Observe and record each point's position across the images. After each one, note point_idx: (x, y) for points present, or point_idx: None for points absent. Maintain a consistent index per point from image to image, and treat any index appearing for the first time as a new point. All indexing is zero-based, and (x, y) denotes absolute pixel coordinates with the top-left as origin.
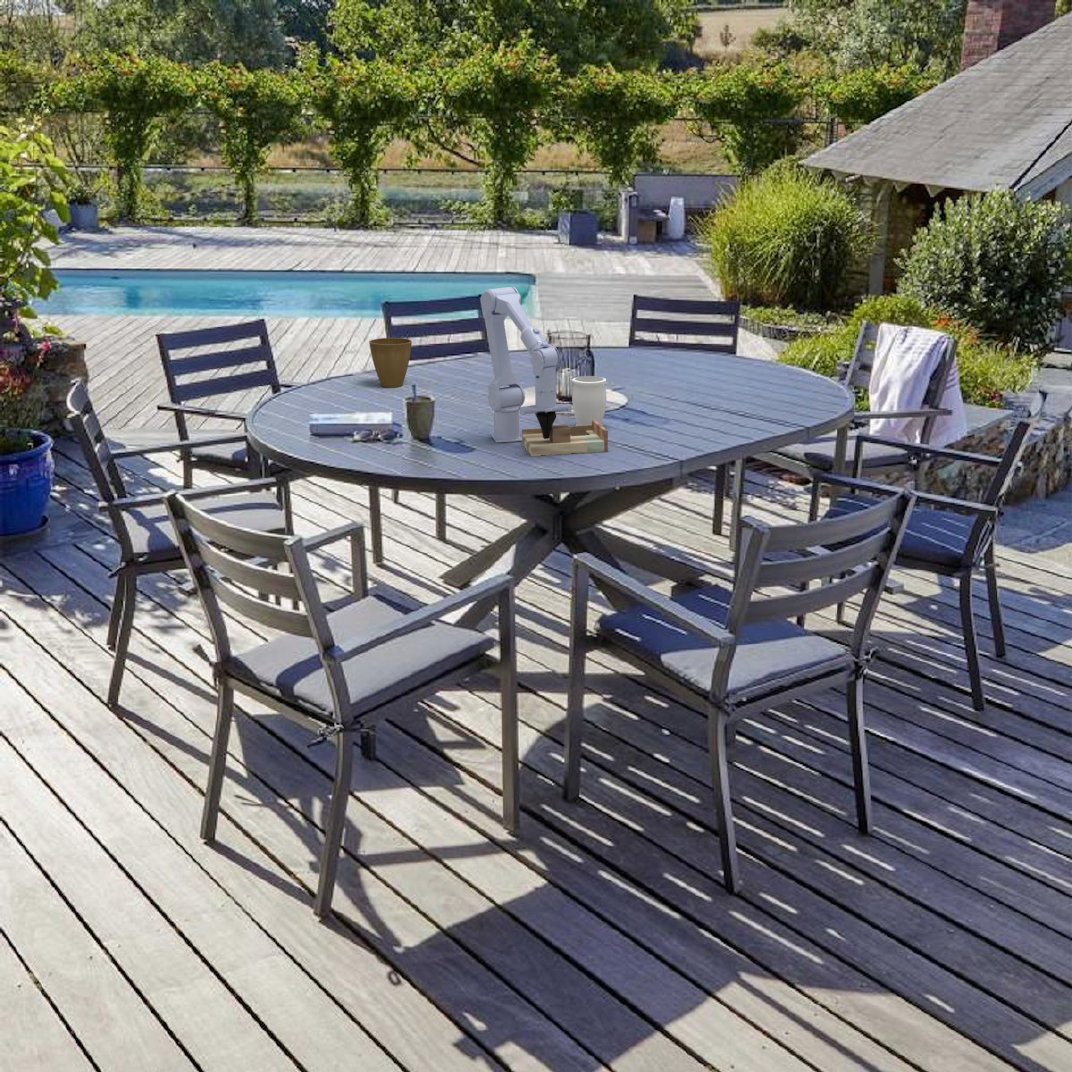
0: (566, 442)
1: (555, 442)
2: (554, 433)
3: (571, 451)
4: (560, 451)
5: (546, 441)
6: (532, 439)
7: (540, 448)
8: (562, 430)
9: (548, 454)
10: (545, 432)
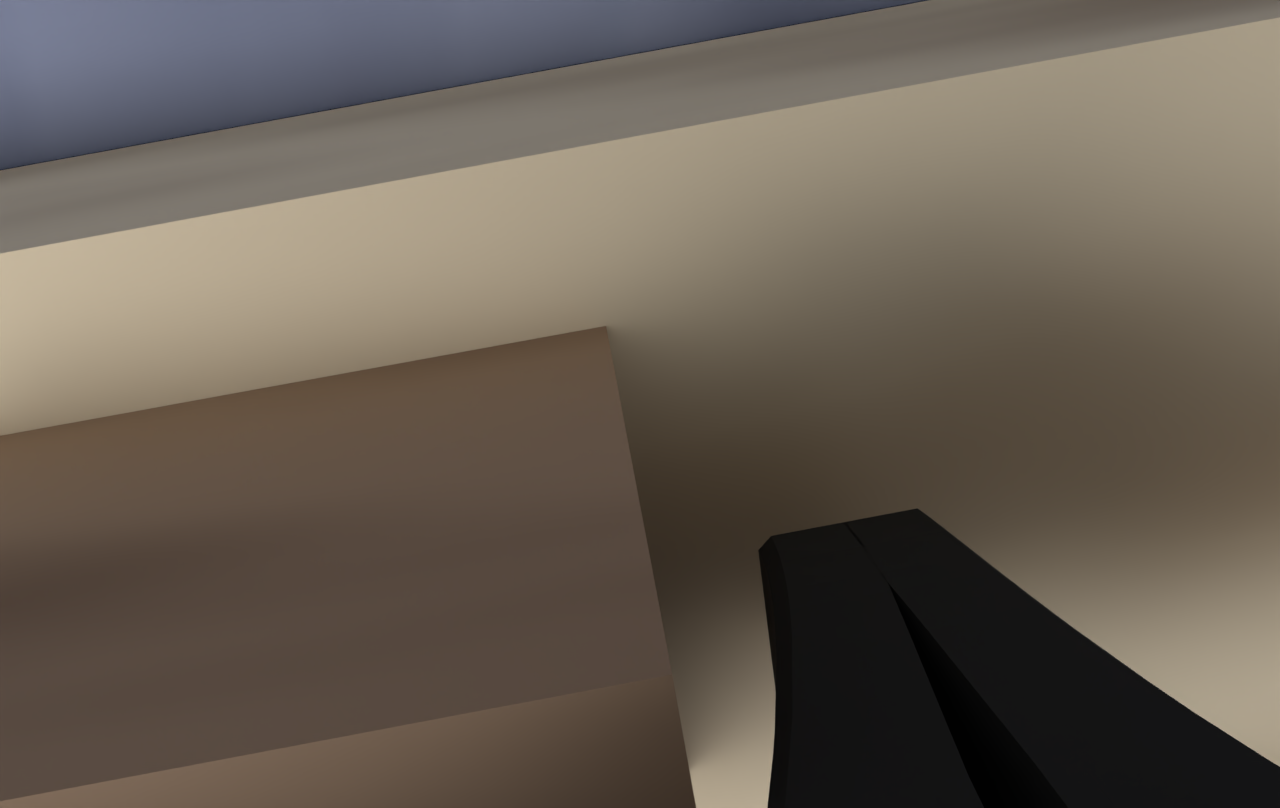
0: (121, 417)
1: (521, 351)
2: (573, 541)
3: (21, 179)
4: (365, 119)
5: None
6: None
7: (1054, 27)
8: (119, 712)
9: (732, 44)
10: (997, 631)
